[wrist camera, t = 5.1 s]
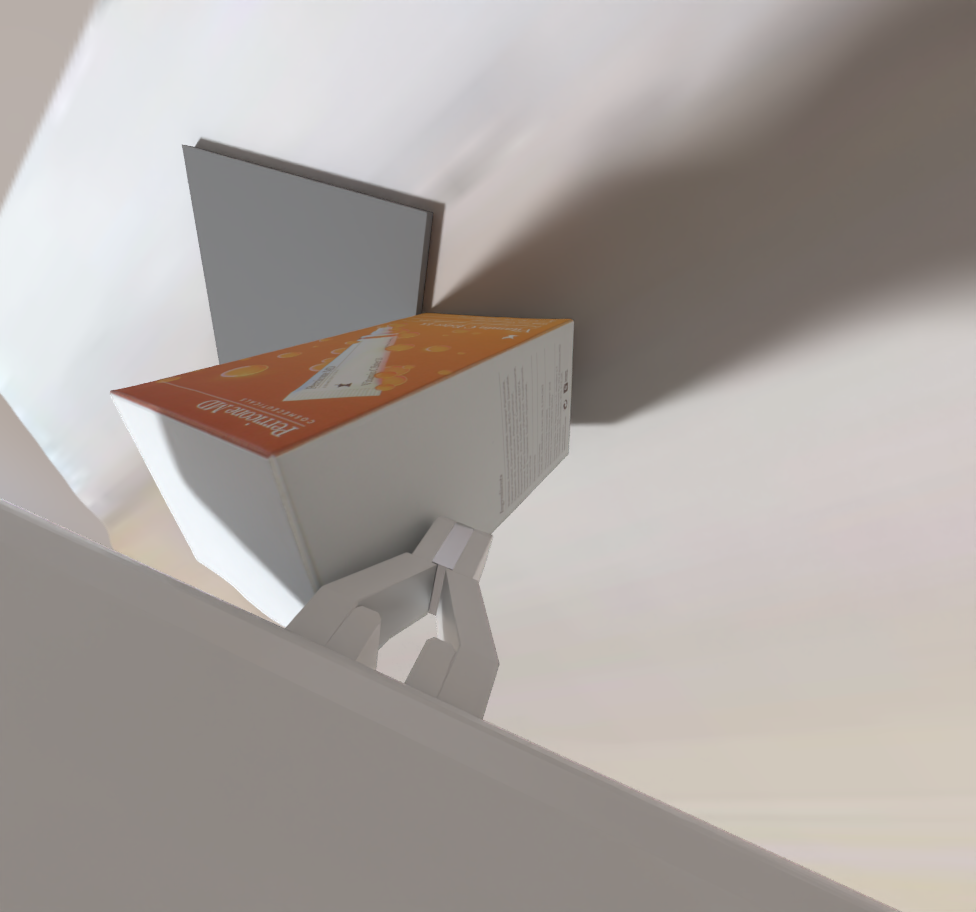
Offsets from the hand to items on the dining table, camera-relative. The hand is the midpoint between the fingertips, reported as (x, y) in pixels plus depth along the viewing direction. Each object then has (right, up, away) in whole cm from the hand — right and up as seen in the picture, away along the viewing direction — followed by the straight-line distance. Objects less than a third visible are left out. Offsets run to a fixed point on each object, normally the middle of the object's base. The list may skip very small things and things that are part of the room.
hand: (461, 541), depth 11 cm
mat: (-9, +10, +11) cm, 17 cm away
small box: (+1, +6, +9) cm, 11 cm away
